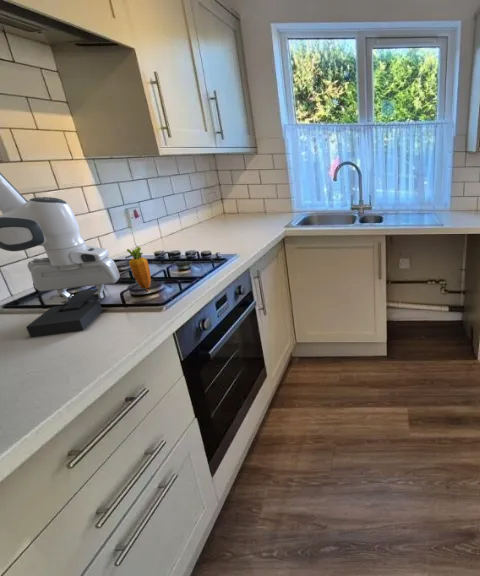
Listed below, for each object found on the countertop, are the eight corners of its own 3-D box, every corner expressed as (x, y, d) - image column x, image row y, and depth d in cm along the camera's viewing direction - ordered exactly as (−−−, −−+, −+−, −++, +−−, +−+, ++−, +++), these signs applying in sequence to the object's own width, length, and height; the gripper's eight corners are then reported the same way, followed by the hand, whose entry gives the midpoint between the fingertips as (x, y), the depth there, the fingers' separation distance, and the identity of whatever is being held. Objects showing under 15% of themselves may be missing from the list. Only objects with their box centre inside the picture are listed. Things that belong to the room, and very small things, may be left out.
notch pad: (30, 337, 92) (25, 326, 90) (55, 316, 102) (51, 306, 101) (83, 330, 94) (79, 320, 93) (102, 310, 105) (99, 301, 104)
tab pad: (60, 319, 100) (56, 309, 98) (84, 299, 112) (80, 290, 111) (85, 316, 101) (81, 306, 100) (106, 296, 113) (103, 288, 112)
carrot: (134, 293, 116) (120, 248, 110) (148, 287, 121) (135, 244, 115) (146, 295, 115) (132, 250, 109) (159, 289, 119) (146, 245, 113)
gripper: (17, 263, 97) (38, 309, 102) (105, 255, 102) (120, 299, 107) (31, 256, 102) (50, 300, 108) (113, 248, 107) (128, 291, 113)
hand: (86, 299), depth 108 cm, fingers closed on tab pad, 6 cm apart
